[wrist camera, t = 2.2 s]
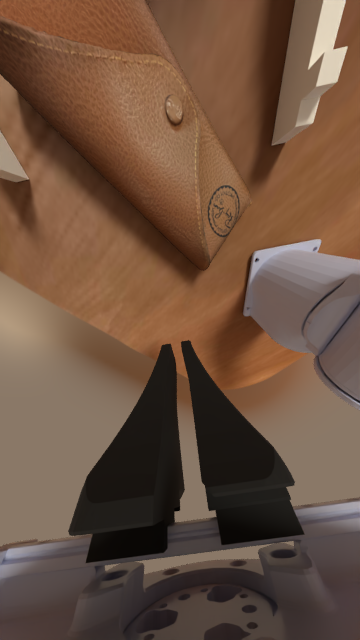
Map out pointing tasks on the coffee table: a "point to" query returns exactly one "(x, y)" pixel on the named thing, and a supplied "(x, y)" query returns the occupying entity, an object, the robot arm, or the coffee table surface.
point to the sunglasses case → (126, 112)
